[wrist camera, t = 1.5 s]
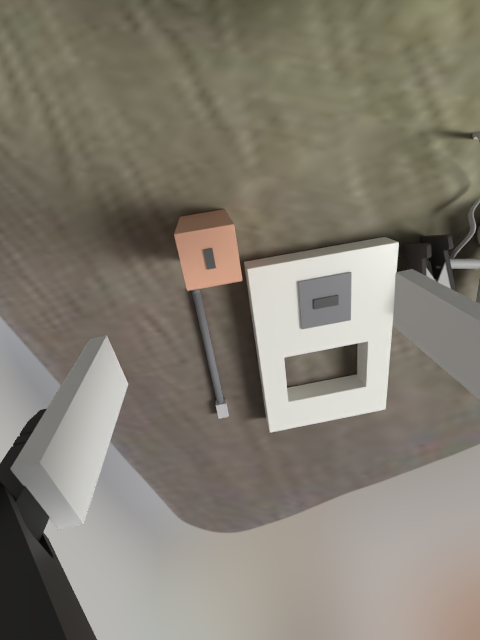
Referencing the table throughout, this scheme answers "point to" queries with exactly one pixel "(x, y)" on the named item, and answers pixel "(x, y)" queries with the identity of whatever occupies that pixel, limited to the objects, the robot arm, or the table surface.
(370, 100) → the table surface
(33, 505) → the robot arm
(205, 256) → the block
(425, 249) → the clip-on lamp
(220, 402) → the cable
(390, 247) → the outlet plate
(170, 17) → the table surface
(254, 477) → the table surface
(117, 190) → the table surface
